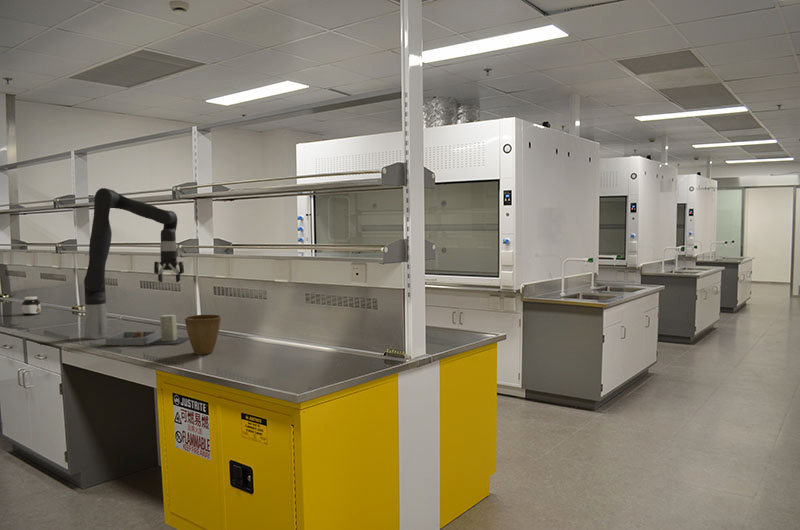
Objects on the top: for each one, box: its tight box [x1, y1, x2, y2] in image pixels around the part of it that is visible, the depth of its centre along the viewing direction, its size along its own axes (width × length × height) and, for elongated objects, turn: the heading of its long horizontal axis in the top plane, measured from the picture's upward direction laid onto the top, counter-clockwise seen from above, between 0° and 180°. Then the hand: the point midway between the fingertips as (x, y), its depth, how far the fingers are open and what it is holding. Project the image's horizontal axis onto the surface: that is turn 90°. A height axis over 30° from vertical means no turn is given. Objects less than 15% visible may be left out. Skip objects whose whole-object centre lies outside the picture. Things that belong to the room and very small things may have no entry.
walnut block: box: [132, 330, 144, 338], centre depth 274 cm, size 4×4×4 cm
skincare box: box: [159, 314, 178, 341], centre depth 268 cm, size 6×4×12 cm
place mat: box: [148, 336, 189, 346], centre depth 268 cm, size 14×14×1 cm
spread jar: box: [21, 296, 42, 317], centre depth 362 cm, size 12×11×12 cm
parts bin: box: [105, 330, 161, 346], centre depth 269 cm, size 18×18×4 cm
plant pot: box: [184, 314, 222, 356], centre depth 243 cm, size 15×15×16 cm
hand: (169, 282), depth 282 cm, fingers open, 8 cm apart
